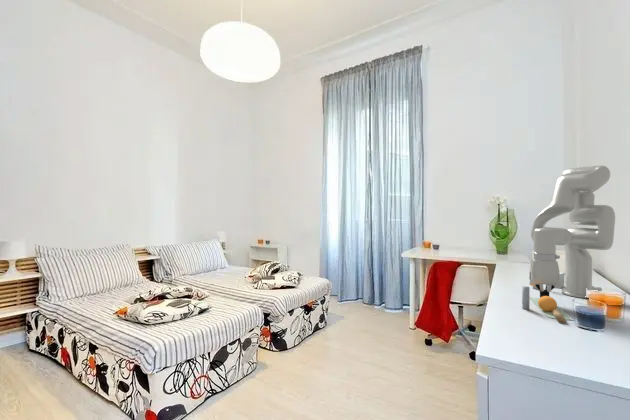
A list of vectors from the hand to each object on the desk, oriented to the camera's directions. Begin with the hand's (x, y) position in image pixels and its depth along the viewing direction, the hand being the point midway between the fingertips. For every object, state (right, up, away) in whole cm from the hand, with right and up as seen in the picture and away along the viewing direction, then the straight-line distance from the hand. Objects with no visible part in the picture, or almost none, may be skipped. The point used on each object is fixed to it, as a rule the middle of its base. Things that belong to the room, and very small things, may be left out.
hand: (544, 300), depth 131 cm
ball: (-6, +1, -10) cm, 12 cm away
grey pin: (-13, -2, -7) cm, 14 cm away
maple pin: (-6, -1, -14) cm, 16 cm away
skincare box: (+28, -2, +29) cm, 40 cm away
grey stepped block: (+16, -2, +23) cm, 28 cm away
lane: (-2, -2, -6) cm, 6 cm away
